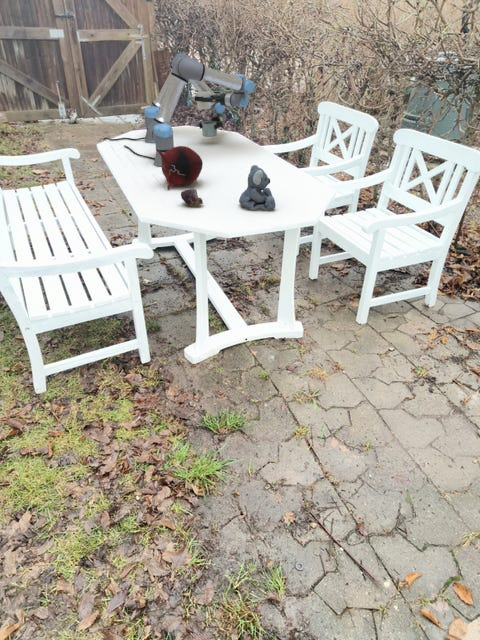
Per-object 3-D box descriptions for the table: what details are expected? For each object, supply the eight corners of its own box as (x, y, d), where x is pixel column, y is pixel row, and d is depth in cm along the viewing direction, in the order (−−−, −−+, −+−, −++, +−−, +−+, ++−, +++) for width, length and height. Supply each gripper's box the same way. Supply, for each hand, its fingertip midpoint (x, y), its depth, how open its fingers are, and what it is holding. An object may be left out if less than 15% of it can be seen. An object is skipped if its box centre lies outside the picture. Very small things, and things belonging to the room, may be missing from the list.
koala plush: (276, 211, 223) (277, 171, 212) (240, 212, 222) (240, 172, 211) (271, 199, 237) (272, 161, 226) (237, 200, 236) (237, 162, 225)
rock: (196, 202, 238) (178, 205, 233) (194, 185, 234) (176, 188, 230) (205, 205, 228) (187, 208, 224) (203, 188, 224) (185, 191, 220)
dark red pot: (160, 151, 264) (154, 150, 240) (199, 143, 263) (196, 140, 240) (169, 188, 271) (164, 190, 247) (207, 180, 270) (206, 181, 246)
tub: (199, 135, 334) (198, 122, 329) (209, 133, 341) (209, 120, 336) (209, 137, 328) (209, 124, 323) (219, 135, 335) (219, 122, 330)
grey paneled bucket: (194, 108, 319) (193, 92, 313) (204, 106, 325) (203, 90, 319) (203, 109, 314) (203, 93, 308) (213, 108, 319) (213, 92, 314)
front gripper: (219, 108, 303) (190, 105, 311) (234, 103, 319) (206, 101, 328) (218, 95, 298) (190, 93, 307) (233, 91, 315) (206, 89, 323)
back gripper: (231, 127, 345) (223, 133, 327) (202, 125, 350) (192, 131, 332) (231, 116, 341) (222, 122, 323) (201, 115, 346) (192, 120, 328)
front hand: (198, 97), depth 317 cm, fingers closed on grey paneled bucket, 10 cm apart
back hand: (207, 127), depth 328 cm, fingers closed on tub, 11 cm apart
